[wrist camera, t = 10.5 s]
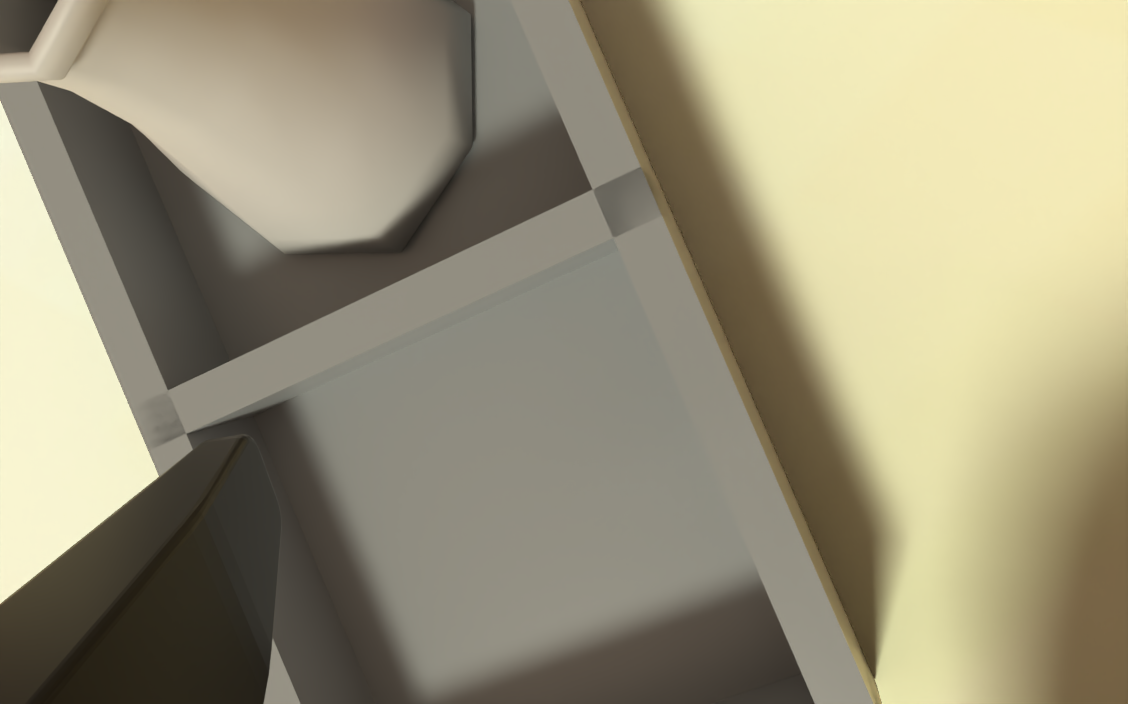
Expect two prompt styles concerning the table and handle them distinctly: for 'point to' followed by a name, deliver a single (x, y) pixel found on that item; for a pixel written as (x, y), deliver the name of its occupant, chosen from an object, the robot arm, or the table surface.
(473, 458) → the grey compartment tray
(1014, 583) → the table surface
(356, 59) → the flask
